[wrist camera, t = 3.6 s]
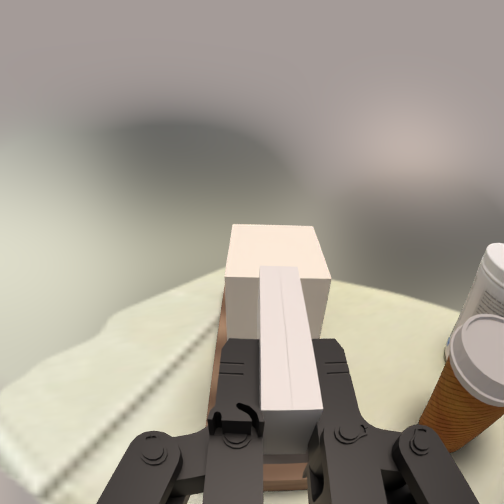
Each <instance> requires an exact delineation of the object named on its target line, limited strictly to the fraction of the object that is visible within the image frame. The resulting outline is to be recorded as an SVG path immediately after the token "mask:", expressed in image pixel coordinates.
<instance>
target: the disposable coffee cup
mask: <svg viewBox="0 0 504 504" xmlns="http://www.w3.org/2000/svg"><path fill="white" fill-rule="evenodd" d="M503 414H504V318H503V317H500V316H498V315H493V314H478V315H474V316H472V317H470V318H469V319H468V320H467V321H466V322H465V323H464V324H463V325H461V326H460V327H458V328H457V329H456V330H455V332H454V333H453V336H452V338H451V341H450V351H449V356H448V359H447V361H446V364H445V366H444V368H443V371H442V373H441V376H440V378H439V380H438V382H437V384H436V387H435V389H434V391H433V393H432V395H431V397H430V400H429V401H428V404H427V406H426V408H425V410H424V412H423V414H422V415H421V417H420V420H419V425H426V426H428V427H430V428H432V429H433V430H434V431H435V432H436V433H437V434H438V436H439V437H440V439H441V440H442V442H443V444H444V445H445V447H446V448H447V450H448V452H449V453H451V452H455V451H457V450H458V449H460V448H461V447H463V446H464V445H465V444H467V443H468V442H470V441H471V440H472V439H474V438H475V437H476V436H478V435H479V434H480V433H482V432H483V431H484V430H485V429H487V428H488V427H489V426H490V425H492V424H493V423H494V422H495V421H496V420H498V419H499V418H500V417H501V416H502V415H503Z"/></svg>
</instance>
